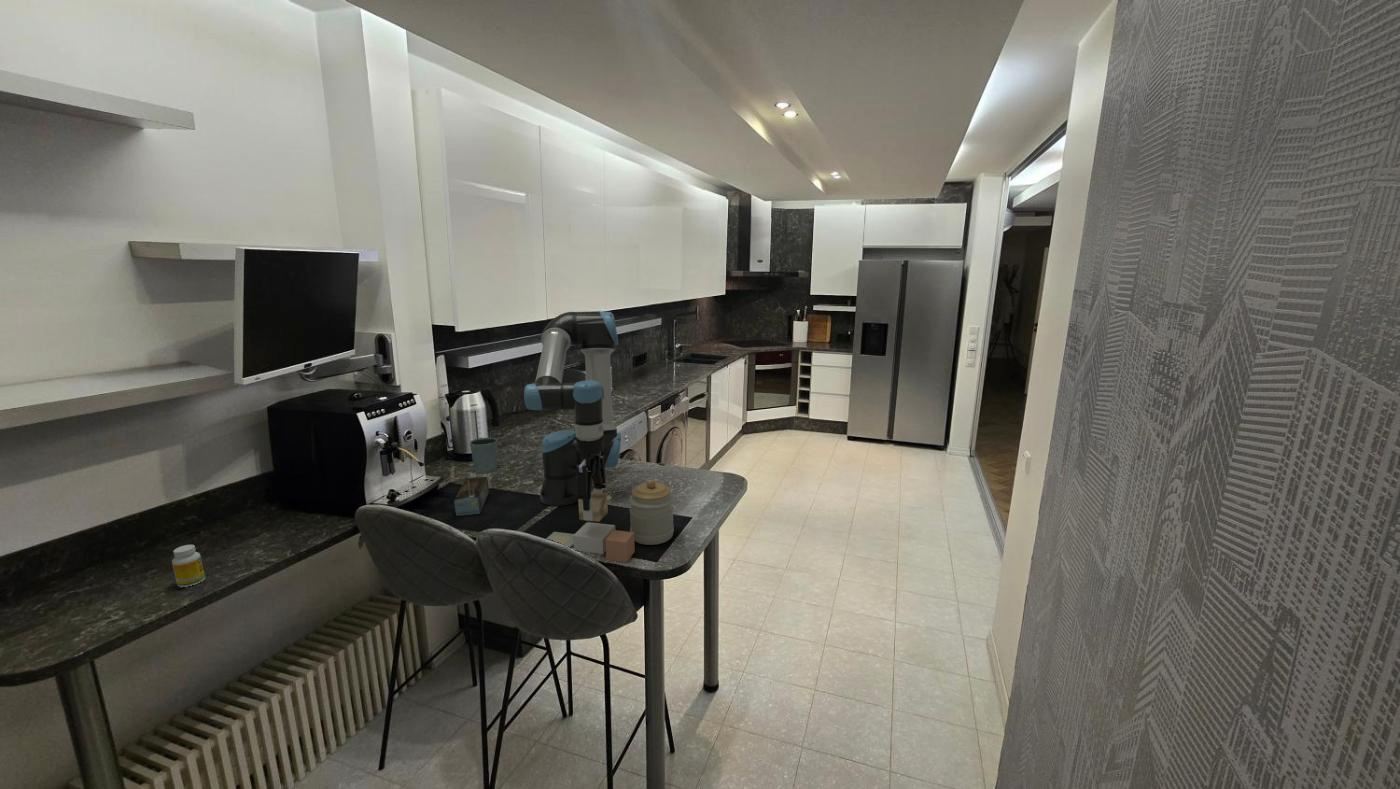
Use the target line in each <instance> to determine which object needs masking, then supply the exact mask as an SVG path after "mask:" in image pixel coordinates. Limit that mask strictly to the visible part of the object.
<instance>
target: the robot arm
mask: <svg viewBox="0 0 1400 789" xmlns="http://www.w3.org/2000/svg"><path fill="white" fill-rule="evenodd" d="M540 339H541V341H540V342H541V345H542V349H541V354H540V357H539V363H538V367H537V373H536V377H535V380H534V382H533V383H528V384H526V385H525V386H524V391H523V392H524V393H523V395H524V396H523V399H524V400H523V401H524V405H525V408H526V409H527V410H530V411H531V410H534V411H546V410H547V411H549V410H550V411H551V410H574V419H575V420H574V427H575V430H574V429H562V430H558V431H554V432H551V433H549V434H547V435H546V436H544V437H543V438H542V441H541V454H542V464H543V465H542V466H543V481H542V485H541V487H540V492H539V493H540V494H539V497H540V502H541V503H542V504H544V505H547V506H553V507H554V506H555V507H560V506H561V507H562V506H568V505H572V504H576V503H579V502H578V499H580V500H583V519H584V520H583V521H586V522H594V521H593V520H594V519H593V498H591V492H597V493H604V492H603V489H604V490H605V489H606V487H607V485H606V483H607V480H606V479H607V478H606V477H607V476H606V468H615V467H617V465H618V464H619V462H620V454H621V443H622V442H621V440H622V434H621V432H618V428H617V426H615V425H614V424H613V404H612V403H613V401H612V399H613V398H612V374H611V373H612V369H611V364H612V363H611V355H612V354H613V352H614V351H615V346H618V345H619V337H618V332H617V326H616V320H615V316H614V314H613V312H611V311H604V310H603V311H601V310H597V311H594V310H593V311H566V312H563V313H561V314H559V315H557V316H555V317H553V319H551V320H550V321H549V322H548V323H547V324H546V326H545V327H544V328H543V331H542V333H541V338H540ZM571 346H576V347H577V346H578V347H579V346H580V352H581V353H582V354H583V355H584V360H585V362H584V363H585V380H581V381H577V382H563V376H564V370H565V362H566V356H567V351H568V350H569V348H570V347H571ZM593 487H594V488H593ZM592 488H593V489H592Z"/></svg>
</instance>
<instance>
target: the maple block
mask: <svg viewBox="0 0 1400 789" xmlns="http://www.w3.org/2000/svg"><path fill="white" fill-rule="evenodd" d="M591 498H593V519H594V520H593V521H592V522H597V523H598V522H599V523H600V521H602V519H603V518H604V517H605V516H606V515H607V514H608V513H609V511H608V510H609V509H608V508H609V507H608V492H607V493H606V492H603V493H597V492H593V491H591ZM577 503H578V517H579V520H580V521H585V520H584V519H583V500H580V499H578V502H577Z"/></svg>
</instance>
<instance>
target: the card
mask: <svg viewBox="0 0 1400 789" xmlns="http://www.w3.org/2000/svg"><path fill="white" fill-rule="evenodd" d="M574 534H575V533H568V532H567V533H566V532H559V531H553V532H552V533H551V534H550V535H549V536H548V537H546V539H550V540H553V541H555V542H559V543H561V544H564V545H566V546H569V547H571V548H572V547H574V545H573V535H574Z"/></svg>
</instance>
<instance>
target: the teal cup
mask: <svg viewBox="0 0 1400 789" xmlns="http://www.w3.org/2000/svg"><path fill="white" fill-rule="evenodd" d="M469 447H470V452H471V458H472V462H473V471H474V472H475V473H476V474H480V475H481V474H482V475H483V474H489V473H493V472H495V471H496V470H497V469H498V461H497V460H498V439H497V438H495V437H479V438H475V439H472V440H470V441H469Z"/></svg>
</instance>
